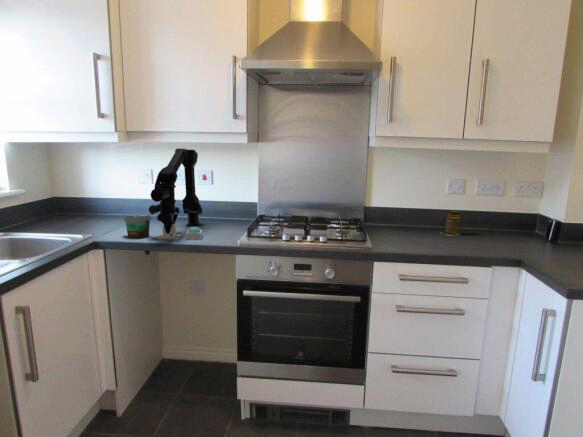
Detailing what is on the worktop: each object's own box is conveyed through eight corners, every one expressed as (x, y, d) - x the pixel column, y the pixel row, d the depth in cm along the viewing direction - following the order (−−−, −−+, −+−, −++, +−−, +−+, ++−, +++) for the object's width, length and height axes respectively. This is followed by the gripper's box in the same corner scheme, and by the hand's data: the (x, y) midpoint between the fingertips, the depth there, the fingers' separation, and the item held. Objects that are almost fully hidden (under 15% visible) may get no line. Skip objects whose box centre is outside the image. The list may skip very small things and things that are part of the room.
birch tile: (162, 234, 177) (162, 233, 177) (181, 234, 178) (181, 233, 178) (157, 239, 168) (157, 238, 168) (177, 239, 169) (177, 238, 169)
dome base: (188, 235, 176) (188, 229, 175) (202, 235, 176) (202, 229, 176) (186, 239, 169) (186, 233, 169) (200, 239, 170) (200, 233, 169)
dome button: (190, 234, 175) (190, 226, 174) (199, 234, 175) (199, 226, 174) (188, 237, 170) (188, 228, 169) (198, 237, 171) (198, 228, 170)
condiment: (461, 234, 192) (464, 212, 190) (449, 236, 188) (452, 213, 186) (449, 231, 198) (452, 209, 196) (438, 233, 195) (440, 210, 192)
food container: (120, 238, 168) (118, 216, 166) (125, 235, 174) (124, 214, 172) (147, 238, 169) (146, 217, 166) (152, 235, 175) (151, 214, 173)
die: (165, 234, 175) (165, 224, 174) (176, 234, 176) (175, 224, 175) (162, 237, 170) (162, 226, 169) (174, 237, 171) (173, 226, 170)
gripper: (155, 195, 177) (156, 227, 181) (144, 201, 159) (146, 236, 163) (178, 195, 179) (180, 227, 182) (170, 201, 161) (172, 236, 164)
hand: (169, 231), depth 172 cm, fingers open, 7 cm apart
